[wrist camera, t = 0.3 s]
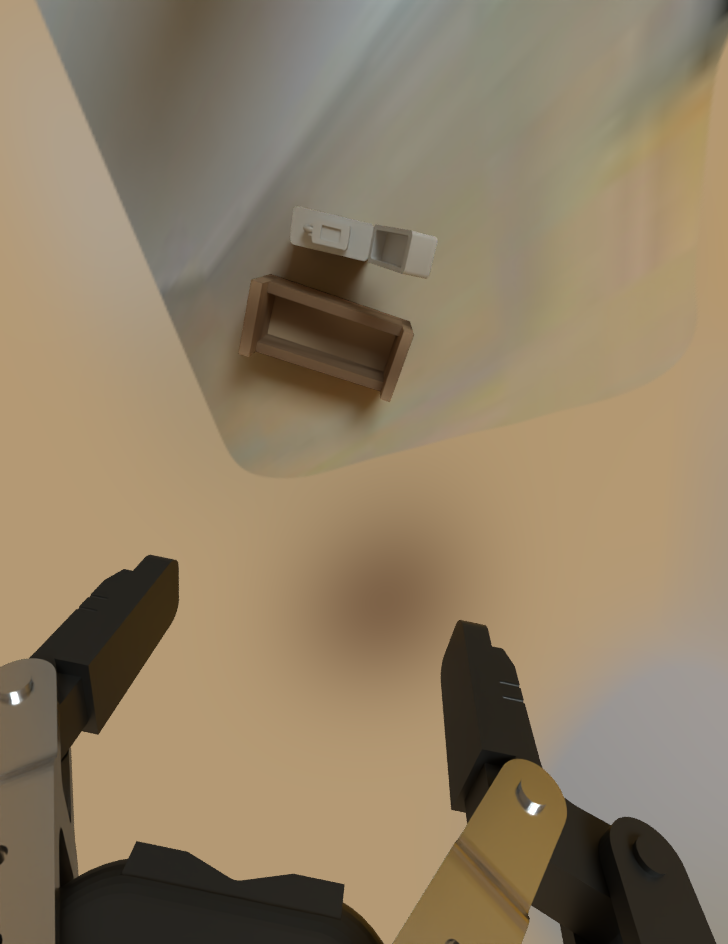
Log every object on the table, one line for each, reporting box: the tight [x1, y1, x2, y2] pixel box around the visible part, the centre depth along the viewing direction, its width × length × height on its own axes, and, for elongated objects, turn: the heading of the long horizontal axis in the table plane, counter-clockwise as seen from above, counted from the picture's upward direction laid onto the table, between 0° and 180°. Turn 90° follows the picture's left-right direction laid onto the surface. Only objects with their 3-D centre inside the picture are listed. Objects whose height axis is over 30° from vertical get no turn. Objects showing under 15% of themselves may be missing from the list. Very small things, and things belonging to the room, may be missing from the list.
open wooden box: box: [238, 274, 414, 402], centre depth 26 cm, size 4×9×4 cm, turn 72°
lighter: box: [290, 206, 438, 279], centre depth 22 cm, size 7×2×8 cm, turn 78°
